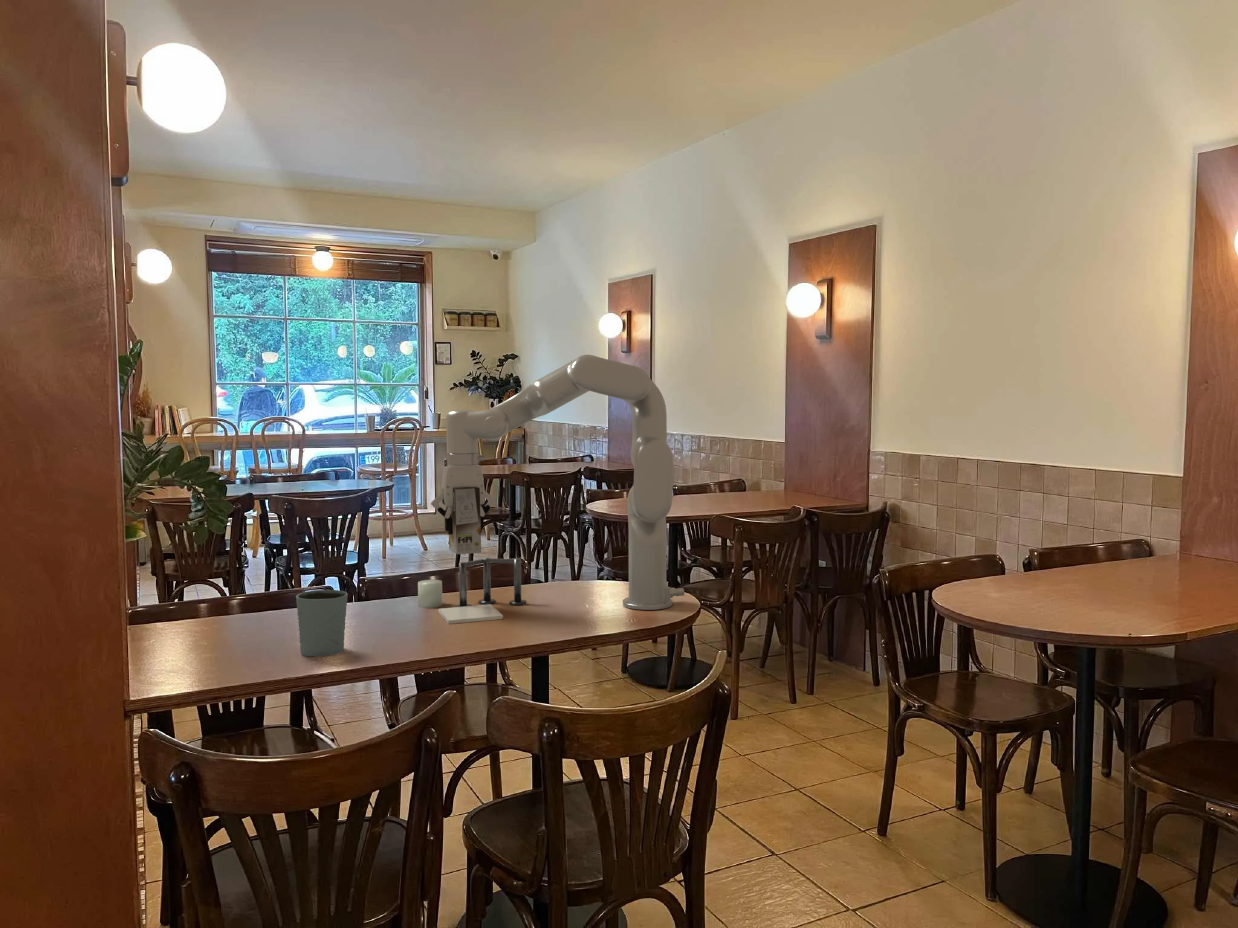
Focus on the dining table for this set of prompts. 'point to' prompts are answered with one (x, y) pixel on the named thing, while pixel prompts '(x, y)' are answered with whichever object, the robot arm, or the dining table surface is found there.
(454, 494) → the coffee box
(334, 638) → the green tapered pot
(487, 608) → the plate
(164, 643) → the dining table surface
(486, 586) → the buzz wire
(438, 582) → the pale green pillar candle
